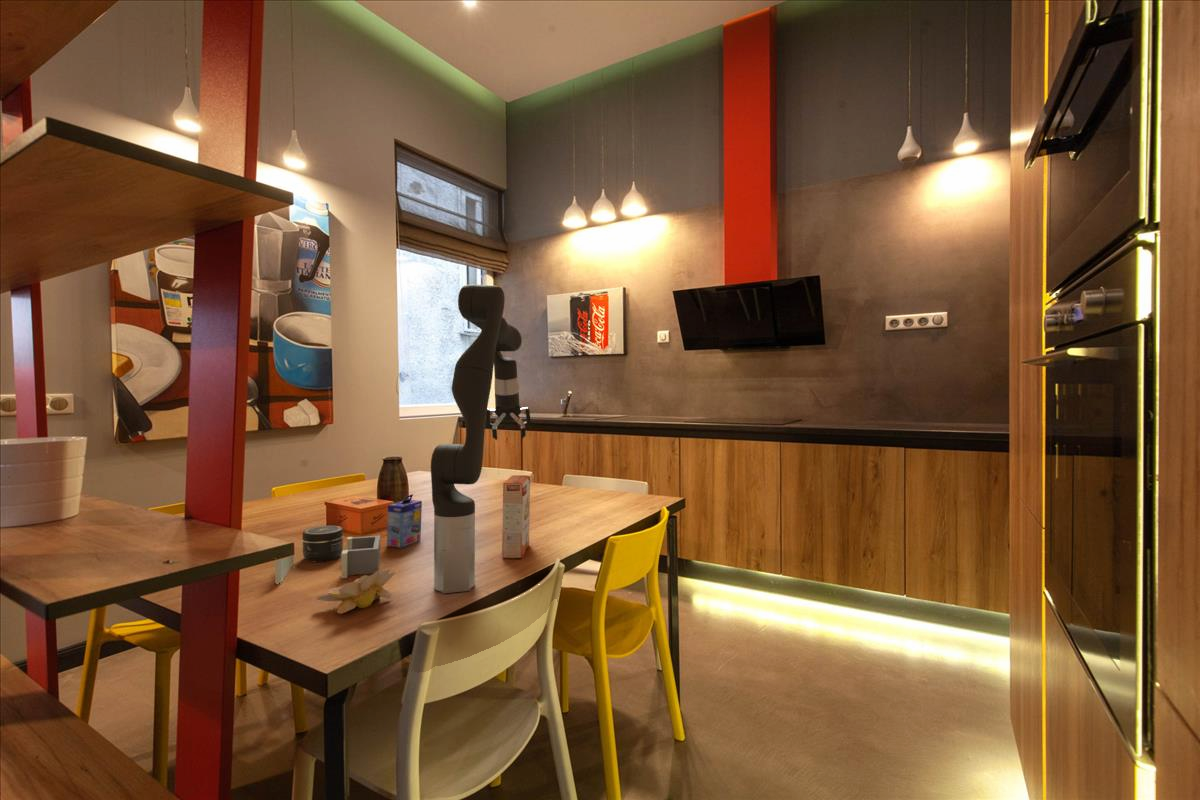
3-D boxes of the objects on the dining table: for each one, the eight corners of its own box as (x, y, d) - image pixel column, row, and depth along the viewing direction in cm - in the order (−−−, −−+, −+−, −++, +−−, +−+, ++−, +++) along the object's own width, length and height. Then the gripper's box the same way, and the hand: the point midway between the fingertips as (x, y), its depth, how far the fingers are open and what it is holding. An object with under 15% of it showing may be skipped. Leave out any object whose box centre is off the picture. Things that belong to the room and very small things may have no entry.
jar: (293, 561, 150) (293, 532, 150) (320, 551, 160) (320, 524, 159) (325, 564, 147) (325, 535, 147) (351, 553, 157) (351, 526, 157)
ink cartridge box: (402, 548, 162) (402, 498, 162) (386, 546, 164) (386, 497, 164) (422, 539, 172) (422, 492, 172) (407, 538, 173) (407, 491, 173)
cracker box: (523, 559, 153) (523, 482, 152) (501, 559, 153) (501, 482, 152) (530, 545, 167) (531, 474, 166) (510, 544, 167) (510, 474, 166)
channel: (377, 574, 139) (377, 550, 139) (275, 584, 132) (275, 559, 132) (380, 556, 155) (380, 534, 154) (288, 564, 147) (288, 541, 147)
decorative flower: (375, 579, 131) (378, 540, 129) (405, 601, 124) (408, 561, 122) (310, 604, 119) (313, 561, 116) (339, 630, 112) (342, 585, 110)
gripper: (483, 395, 176) (486, 443, 180) (529, 393, 177) (531, 441, 182) (485, 388, 183) (488, 435, 188) (529, 387, 185) (531, 433, 189)
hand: (509, 438), depth 185 cm, fingers open, 8 cm apart
